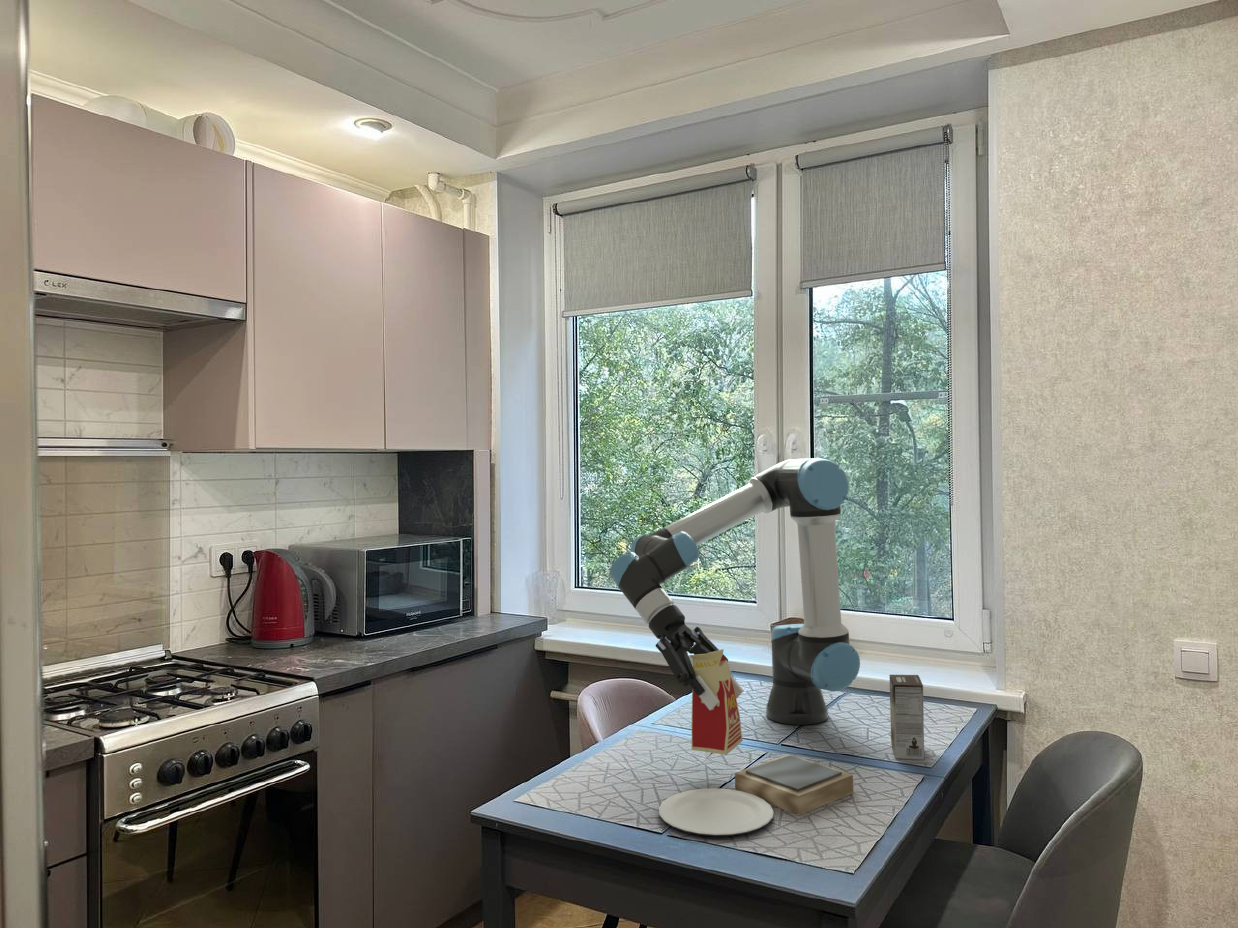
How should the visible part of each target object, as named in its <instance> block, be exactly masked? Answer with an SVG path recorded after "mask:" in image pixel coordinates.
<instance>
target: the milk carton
mask: <svg viewBox="0 0 1238 928" xmlns="http://www.w3.org/2000/svg"><path fill="white" fill-rule="evenodd" d="M724 649H725V648H722V649H719V650H718V651H714V652H711V653H707V654H697V655H694V654H688V656H689V658H690V657H691V658H690V659H692V666H693V669H694V671H695V674H696V677H697V676H699V675H700V677H701V678H702V679H703V680H704V682H705V683H706V684H707V686H708V687H709V688H710V690H711V691H712V692H713V694H714V695H715V696H716V697H717V699H718V700H719V701H720V702H719V703H718V704H717V705H716V706H715V707H714V708H713V709H712V710H709V709H708V708H707V706H706V705H705V704H704V702H703V701H702V700H701V698H700V697H699V696H698V695H697V694H696V693H695V691H694V690H693V689H692V688H691V689H692V690H691V693H692V694H691V751H695V752H696V751H697V752H705V753H706V752H711V754H718V755H723V756H727V755H729V753H731V752H732V751H733V750H734V749H736V748H737V747H738V746H739V745H740V744H741V743H743V733H742V722H741V716H740V710H739V705H738V699H736V694H735V688H734V685H733V681H732V677H731V675H732V673H731V670H730V667H729V666H730V665H729V661H728V662H727V659H728V658H727V657H726V658H727V659H726V658H725V657H724V656H723V654H724ZM696 677H695V678H696Z"/></svg>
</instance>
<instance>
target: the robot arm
mask: <svg viewBox="0 0 1238 928" xmlns="http://www.w3.org/2000/svg"><path fill="white" fill-rule="evenodd" d="M848 493H849V481H848V477H847V475H846V473H845V471H844V470H843V468H842V467H841V466H840V465H839V464H837V463H836V462H835V461H833V460H830V459H825V458H821V457H814V458H813V457H812V458H788V459H786V460H784V461H781V462H778V463H777V464H775V465H773V466H771V467H770V468H767V469H766V470H764V471H761V472H760V473H758V474H756V475H754V476H752V477H750V478H749V480H748V482H747V484H746V485H744V486H742V487H740V488H738V489H736V490H734V491H732V492H730V493H728V494H727V495H725V496H723V497H720V498H719V499H716V500H715V501H713V502H711V503H709V504H707V505H705V506H703V507H702V508H700V509H697V510H695V511H694V512H692V513H690V514H688V515H686V516H684V517H682V518H680V519H678V520H676V521H674V522H672V523H670V524H668V525H666V526H665V527H662V528H661V529H658V530H656V531H654V532H652V533H650V534H649V533H646V534H641V535H639V536H637V537H636V538H635V539H634V540H633V541H632V544H631V545H630V551H628V552H626V553H623V554H622V555H619V556H618V557H617V558H616V559H614V561H613V562H612V564H611V565H610V567H609V575H610V577H611V578H612V580H613V581H614V583H615V585H616V586H617V588H618V590H620V591H621V592H622V594H623V595H624V596H625V598H626V599H627V601H628V602H629V603H630V604H631V606H632V607H633V608H634V609H635V611H636V612H637V613H638V615H639V616H640V617H641V618H642V620H643V622H644V623H645V624H646V625H648V628H649V630H650V631H651V632H652V634H653V635H654V636H655V638H656V639H658V642H657V643H655V647H656V649H657V650H658V651H659V652H660V653H661V654H662V656H663V658H664V660H665V661H666V663H667V665H668V667H669V669H670V670H671V671H672V674H673V675H674V677H675V679H676V681H677V682H678V684H682V685H683V686H684V687H688V685H689V686H690V687H691V689H693V690H694V691H695V693H696V694H697V695H698V696H699V697H700V698H701V700H702V701H703V702H704V704H705V705H706V706H707V708H708V709H709V710H712V709H713V708H714V707H715V706H716V705H717V704H718V703H719V702H720V701H719V700H718V699H717V697H716V696H715V695H714V694H713V692H712V691H711V690H710V688H709V687H708V686H707V684H706V683H705V682H704V680H703V679H702V678H701V677H700V675H699V676H697V677H696V674H695V671H694V669H693V663H692V660H691V658H690V656H689V655H697V654H707V653H711V652H714V651H718V650H720V649H719V648H718V647H717V646H716V645H715V644H714V643H713V642H712V641H711V640H710V639H709V637H707V636H706V635H705V633H704V632H703V631H702V630H701V627H699V626H696V627H695V628H694V629H691V628H690V627H688V625H686V624H685V620H686V617H685V615H684V614H683V612H682V611H681V609H680V608H679V607H678V606H677V605H675V604H674V600H673V599H672V598H671V596H670V595H669V594H668V593H667V592H666V590H665V589H664V588H663V587H662V586H661V585H662V584H664V583H665V582H667V581H669V580H670V579H671V578H673V577H674V576H676V575H677V574H679V573H681V572H682V571H683V570H686V569H687V568H689V567H690V566H691V565H692V564H694V563H695V562H696V561H697V560H699V558H700V549H699V548H698V546H699V545H701V544H703V543H705V542H707V541H708V540H711V539H712V538H715V537H717V536H718V535H721V534H723V533H724V532H726V531H728V530H730V529H732V528H734V527H735V526H738V525H739V524H741V523H744V522H746V521H747V520H749V519H751V518H752V517H755V516H756V515H759V514H760V513H764V514H769V513H771V512H773V511H776V510H778V509H781V508H786V507H787V508H788V507H789V515H790V518H791V519H792V520H793V521H794V522H795V523H796V525H797V534H798V535H797V536H798V537H797V538H798V552H799V567H800V577H801V578H800V579H801V580H800V581H801V595H802V610H803V612H802V613H803V623H791V624H780V625H776V626H775V627H773V628H772V631H771V639H770V643H771V666H772V685H771V690H770V693H769V697H768V701H767V703H766V709H765V710H766V711H765V713H766V717H767V718H768V719H769V720H771V721H773V722H777V723H781V724H785V725H797V726H798V725H799V726H800V725H802V726H807V725H814V724H815V725H816V724H820V723H823V722H825V721H827V720H828V717H829V711H828V706H827V704H826V702H825V699H824V694H823V692H822V691H823V690H824V691H825V690H826V691H827V692H828V691H829V692H839V691H843V690H845V689H847V688H848V687H849V686H851V685H852V683H853V682H854V681H855V680H856V679H857V677H858V674H859V673H860V668H861V659H860V655H859V653H858V651H857V650H856V649H855V647H853V646H852V645H850V633H849V628H847V627H846V626H845V625H844V624H843V623H842V613H841V612H842V611H841V598H840V585H839V584H840V583H839V569H838V568H839V567H838V555H837V554H838V552H837V538H836V537H837V536H836V521H837V519H838V518H839V517H841V515H842V514H841V512H842V511H841V505H843V503H845V502H844V501H845V499H846V498H847V496H848ZM688 653H689V654H688ZM723 656H724V657H725V658H726V659H727V662H728V663H729V659H728V658H727V657H726V655H724V653H723ZM695 677H696V678H695ZM731 677H732V681H733V685H734V688H735V694H736V699H737V698H739V697H740V696H741V695H742V693H743V692H744V691H745V690H744V689H743V688H742V686H741V685H740V684H739V683H738V681H737V680H736V679H735V678H734V676H733V674H731ZM737 700H738V699H737Z"/></svg>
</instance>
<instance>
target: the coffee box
mask: <svg viewBox="0 0 1238 928" xmlns="http://www.w3.org/2000/svg"><path fill="white" fill-rule="evenodd" d="M889 707H890V710H889V712H890V714H889V715H890V716H889V717H890V741H891V742H890V744H891V748H892V751H893V752H892V753H893V756H894V759H901V760H902V759H904V760H905V759H907V760H925V729H924V726H925V725H924V723H925V722H924V720H925V719H924V716H925V715H924V711H925V710H924V684H923V683H922V680H921V677H920V676H919V675H918V674H889Z"/></svg>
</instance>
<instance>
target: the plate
mask: <svg viewBox="0 0 1238 928" xmlns="http://www.w3.org/2000/svg"><path fill="white" fill-rule="evenodd" d="M658 813H659V815H658V816H659V817H660V818H661V819H662V821H663V822H664V823H666V824H667V825H669V826H670V827H672V828H674V829H676V830H679V831H682V832H684V833H687V834H688V833H689V834H694V835H699V836H707V837H733V836H741V835H745V834H749V833H753V832H755V831H758V830H760V829H763V827H765V826H767V825H768V824H769V823H770V822H771V821H772V820H773V818H774V813H775V812H774V810H773V808H772V805H771V804H769V803H767V802H766V801H765V800H763V799H761V798H759V797H757V796H755V795H753V794H749V793H746V792H743V791H737V790H735V789H730V788H729V789H728V788H718V787H717V788H715V787H713V788H698V789H690V790H686V791H682V792H679V793H676V794H673V795H672V796H669V797H667V798H666V799H665V800H663V802H661V804H660V805H659V808H658Z"/></svg>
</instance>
